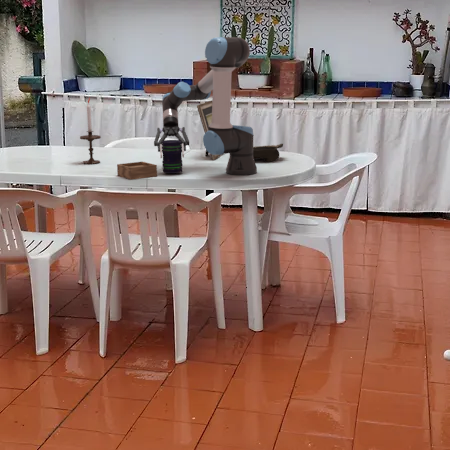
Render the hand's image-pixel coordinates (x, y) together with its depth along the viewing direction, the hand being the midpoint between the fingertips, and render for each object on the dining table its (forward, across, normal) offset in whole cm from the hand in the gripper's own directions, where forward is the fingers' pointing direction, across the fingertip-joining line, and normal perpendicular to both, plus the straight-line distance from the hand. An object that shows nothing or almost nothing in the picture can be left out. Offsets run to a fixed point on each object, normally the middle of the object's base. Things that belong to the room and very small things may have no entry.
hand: (172, 156), depth 362 cm
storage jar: (+4, 0, -8) cm, 9 cm away
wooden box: (+7, +17, -6) cm, 19 cm away
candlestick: (-24, +43, -37) cm, 61 cm away
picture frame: (-35, -24, -48) cm, 63 cm away
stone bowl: (-22, -49, -35) cm, 64 cm away
